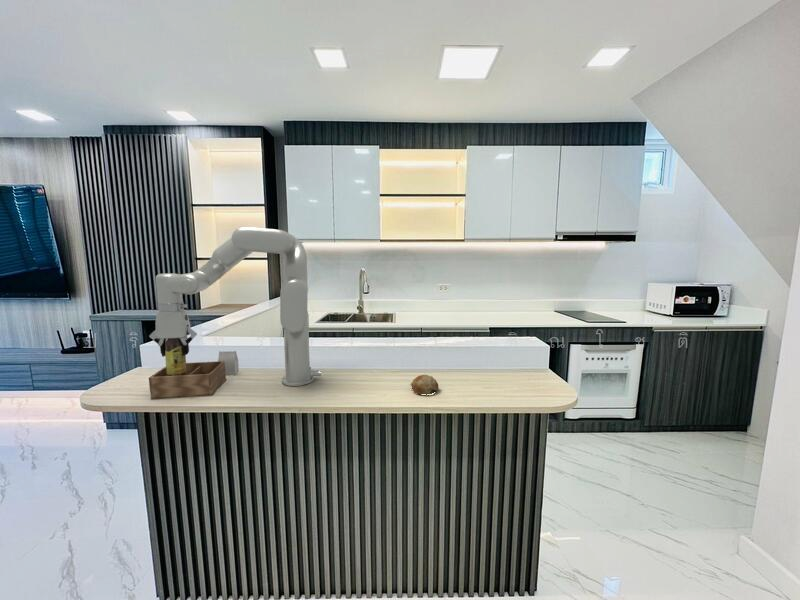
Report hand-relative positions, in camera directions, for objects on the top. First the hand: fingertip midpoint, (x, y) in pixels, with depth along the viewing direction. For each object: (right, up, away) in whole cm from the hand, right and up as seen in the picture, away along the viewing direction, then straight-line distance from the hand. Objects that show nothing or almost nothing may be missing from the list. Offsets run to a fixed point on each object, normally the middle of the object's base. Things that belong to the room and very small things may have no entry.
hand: (175, 354), depth 124 cm
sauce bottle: (0, -9, +1) cm, 9 cm away
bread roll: (+93, -15, +3) cm, 94 cm away
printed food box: (+11, -12, +18) cm, 24 cm away
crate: (+4, -14, +3) cm, 14 cm away
